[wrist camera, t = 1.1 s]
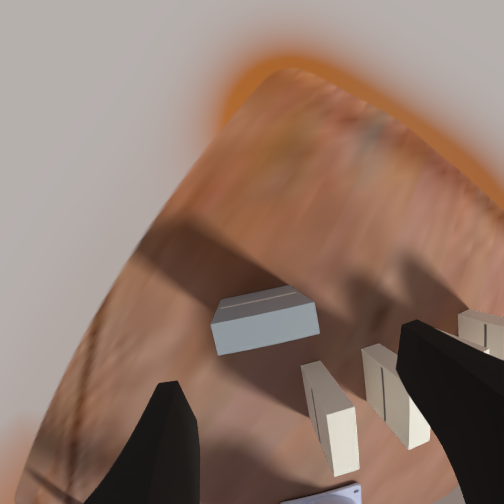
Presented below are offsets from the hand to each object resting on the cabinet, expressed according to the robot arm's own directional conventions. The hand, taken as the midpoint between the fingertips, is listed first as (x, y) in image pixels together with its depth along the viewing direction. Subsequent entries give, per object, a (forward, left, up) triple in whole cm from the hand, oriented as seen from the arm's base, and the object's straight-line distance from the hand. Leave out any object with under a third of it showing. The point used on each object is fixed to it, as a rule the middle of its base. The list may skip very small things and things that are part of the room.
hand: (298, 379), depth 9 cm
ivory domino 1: (-8, -3, -14) cm, 16 cm away
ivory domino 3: (-8, -18, -14) cm, 23 cm away
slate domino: (0, 0, -14) cm, 14 cm away
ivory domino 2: (-8, -8, -14) cm, 17 cm away
